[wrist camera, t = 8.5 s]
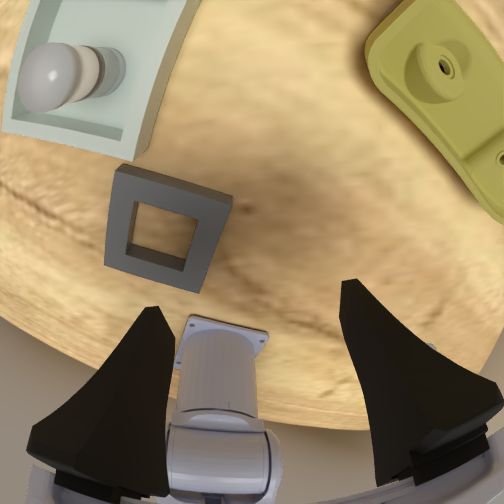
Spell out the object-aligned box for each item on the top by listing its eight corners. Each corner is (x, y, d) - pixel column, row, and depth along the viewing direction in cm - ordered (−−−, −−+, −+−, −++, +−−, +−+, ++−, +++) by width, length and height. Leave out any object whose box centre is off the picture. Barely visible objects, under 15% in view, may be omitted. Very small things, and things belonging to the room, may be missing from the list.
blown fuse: (117, 100, 15) (62, 117, 9) (75, 93, 14) (13, 110, 8) (133, 50, 13) (80, 43, 7) (88, 45, 12) (26, 42, 7)
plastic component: (350, 66, 13) (454, -36, 5) (346, 44, 17) (420, -31, 9) (501, 241, 18) (578, 190, 10) (481, 187, 22) (544, 141, 14)
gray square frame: (200, 281, 23) (198, 293, 22) (110, 254, 22) (103, 265, 20) (232, 196, 19) (232, 205, 18) (123, 163, 17) (115, 170, 16)
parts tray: (147, 148, 17) (132, 161, 15) (25, 121, 14) (1, 131, 12) (204, -6, 11) (197, -21, 9) (62, -14, 9) (40, -21, 6)
